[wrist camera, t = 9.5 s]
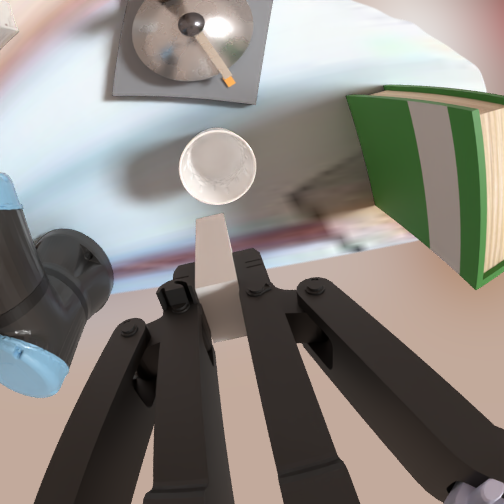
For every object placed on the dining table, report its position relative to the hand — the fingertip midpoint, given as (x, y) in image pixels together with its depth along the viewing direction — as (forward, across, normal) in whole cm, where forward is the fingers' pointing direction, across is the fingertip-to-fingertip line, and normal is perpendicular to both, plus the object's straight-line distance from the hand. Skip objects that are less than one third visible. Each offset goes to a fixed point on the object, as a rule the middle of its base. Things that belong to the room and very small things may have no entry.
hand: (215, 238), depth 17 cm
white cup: (+26, -1, 0) cm, 26 cm away
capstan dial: (+23, -1, -17) cm, 29 cm away
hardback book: (+25, -26, +2) cm, 36 cm away
